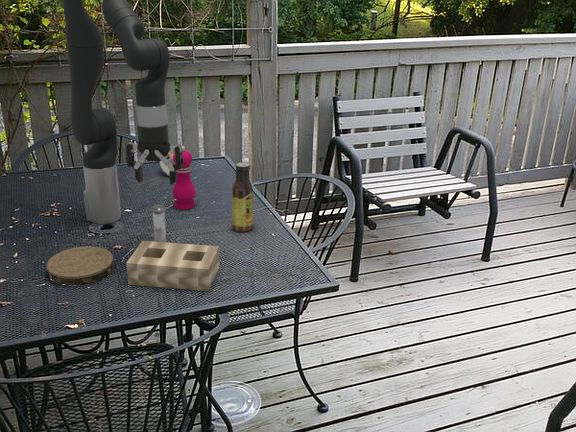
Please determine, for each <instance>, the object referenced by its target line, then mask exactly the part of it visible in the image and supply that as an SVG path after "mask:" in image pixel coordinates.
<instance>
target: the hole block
mask: <svg viewBox="0 0 576 432" xmlns="http://www.w3.org/2000/svg"><path fill="white" fill-rule="evenodd" d="M219 268H220V246H218V245H208V244H207V245H206V244H205V245H204V244H191V243H179V242H177V243H176V242H168V241H166V242H154V240H153V241H152V240H142V241H141V242H140V243H139V245H138V247H137V248H136V249H135V250H134V252H133V253H132V254H131V256H130V258H128V260H127V261H126V274H127V281H128V282H127V284H128V285H130V286H131V285H132V286H141V287H154V288H166V289H177V290H179V289H180V290H188V291H189V290H190V291H191V290H192V291H205V292H210V290H211V287H212V285H213V283H214V280H215V278H216V276H217V273H218V271H219Z"/></svg>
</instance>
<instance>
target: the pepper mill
mask: <svg viewBox="0 0 576 432" xmlns="http://www.w3.org/2000/svg"><path fill="white" fill-rule="evenodd" d="M181 146H182V154H183V163H184V165H183V166H182V168H181V169H178V170H176V171H177V180H176V182H175V183H174V184H173V188H172V197H173V199H175V200H174V207H175V208H176V209H177V210H181V211H185V210H190V209H193V208H194V207H195V197H196V189H195V185H194V184H193V182H192V179H191V174H190V173H191V171H192V165H191V164H192V163H193V156H192V154H191V152H190V151H189V150H186V147H185V146H184V145H181ZM173 161H174V162H175V164H176V158H175V154H174V155H173Z"/></svg>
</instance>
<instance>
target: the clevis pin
mask: <svg viewBox="0 0 576 432" xmlns="http://www.w3.org/2000/svg"><path fill="white" fill-rule="evenodd" d="M149 210H150V212H151V213H152V214H151V215H152V228H153V239H154V240H153V241H154V242H167V233H166V232H167V230H166V229H167V228H166V227H167V226H166V215H165V214H166V213H165V212H166V211H167V206H166V205H164V204H154V205H152V206H150V208H149Z"/></svg>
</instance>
